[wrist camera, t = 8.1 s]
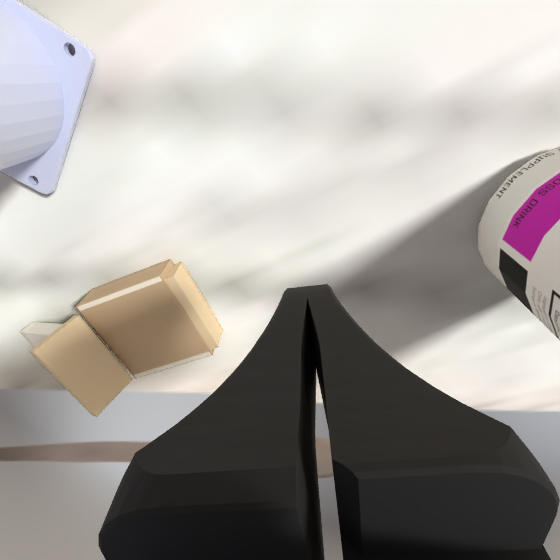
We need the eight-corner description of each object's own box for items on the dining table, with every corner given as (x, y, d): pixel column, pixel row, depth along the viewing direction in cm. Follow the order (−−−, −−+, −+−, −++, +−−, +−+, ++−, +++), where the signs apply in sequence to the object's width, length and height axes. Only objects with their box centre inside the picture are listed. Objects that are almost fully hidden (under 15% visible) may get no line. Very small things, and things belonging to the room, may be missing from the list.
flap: (33, 351, 19) (-6, 344, 23) (97, 416, 22) (52, 401, 25) (79, 315, 21) (36, 314, 25) (132, 378, 24) (86, 369, 27)
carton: (178, 255, 22) (168, 272, 20) (225, 332, 25) (220, 352, 23) (91, 289, 23) (75, 307, 21) (145, 358, 26) (135, 378, 24)
